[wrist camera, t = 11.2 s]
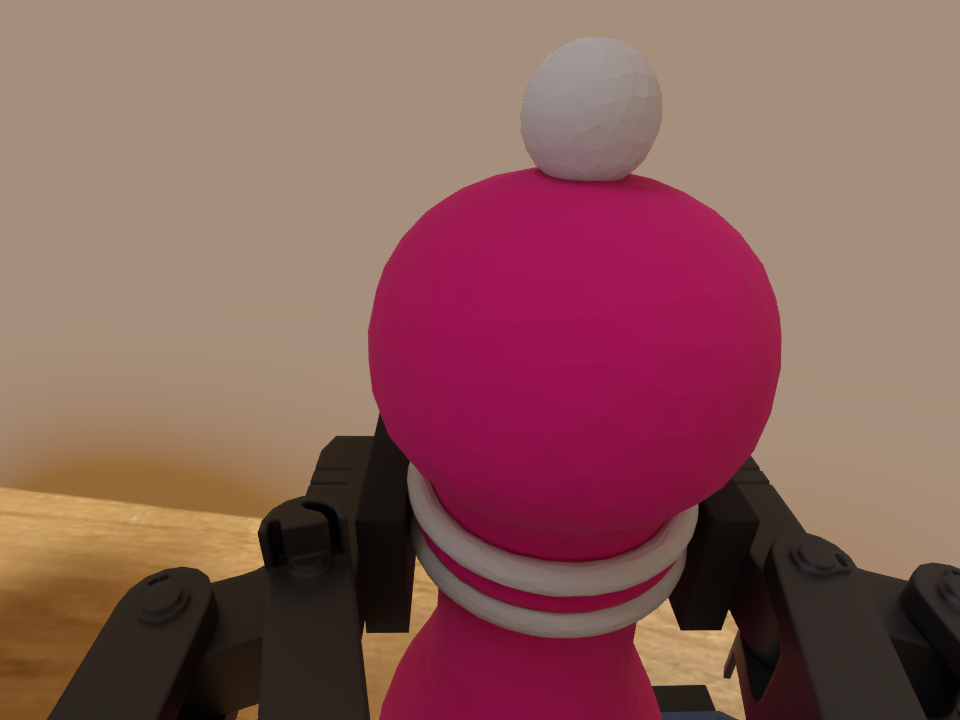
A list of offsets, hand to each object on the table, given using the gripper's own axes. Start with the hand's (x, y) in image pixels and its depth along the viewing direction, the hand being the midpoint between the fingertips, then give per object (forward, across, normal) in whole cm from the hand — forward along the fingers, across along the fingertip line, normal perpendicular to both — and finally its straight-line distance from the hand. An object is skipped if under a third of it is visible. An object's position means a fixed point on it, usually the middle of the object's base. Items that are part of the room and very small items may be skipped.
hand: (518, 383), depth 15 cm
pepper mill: (-5, 0, -12) cm, 13 cm away
